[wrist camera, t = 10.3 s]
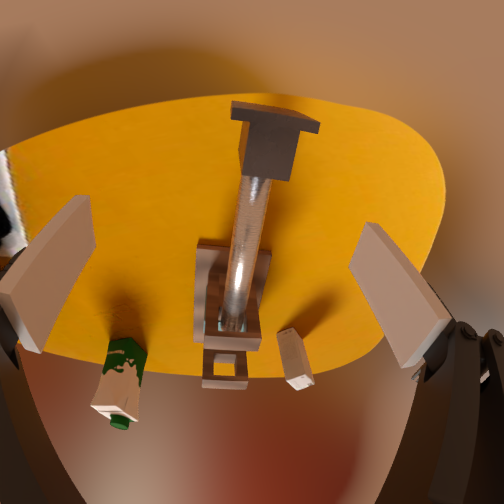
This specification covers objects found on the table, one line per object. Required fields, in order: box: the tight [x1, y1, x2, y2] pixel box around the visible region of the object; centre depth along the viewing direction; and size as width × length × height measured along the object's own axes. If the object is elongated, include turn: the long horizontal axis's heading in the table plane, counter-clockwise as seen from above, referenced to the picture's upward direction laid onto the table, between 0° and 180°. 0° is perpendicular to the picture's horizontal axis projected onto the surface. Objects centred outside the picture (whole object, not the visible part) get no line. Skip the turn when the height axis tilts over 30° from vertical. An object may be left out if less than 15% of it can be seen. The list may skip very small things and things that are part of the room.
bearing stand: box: [194, 244, 272, 389], centre depth 46 cm, size 24×12×15 cm, turn 171°
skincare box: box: [277, 327, 315, 390], centre depth 55 cm, size 6×4×12 cm
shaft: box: [220, 101, 320, 332], centre depth 31 cm, size 30×7×9 cm, turn 171°
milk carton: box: [90, 337, 147, 430], centre depth 51 cm, size 9×9×20 cm
